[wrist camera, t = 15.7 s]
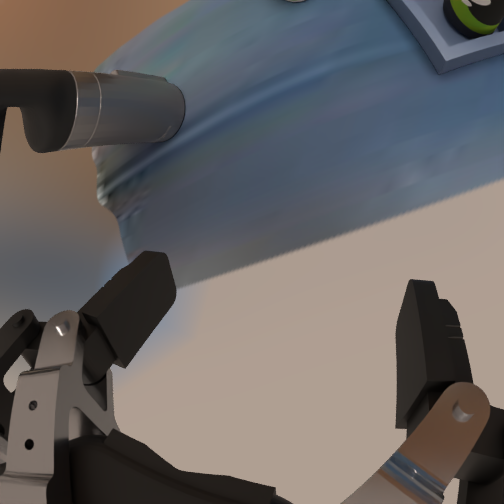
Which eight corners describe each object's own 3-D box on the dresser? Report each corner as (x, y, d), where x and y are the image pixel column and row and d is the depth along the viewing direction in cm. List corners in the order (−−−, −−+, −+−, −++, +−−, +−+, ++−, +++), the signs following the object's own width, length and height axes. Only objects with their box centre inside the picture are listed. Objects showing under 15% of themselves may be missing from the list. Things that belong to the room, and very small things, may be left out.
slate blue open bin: (379, -8, 21) (375, -29, 16) (454, -29, 14) (458, -50, 10) (439, 74, 22) (446, 61, 18) (514, 50, 15) (529, 37, 11)
